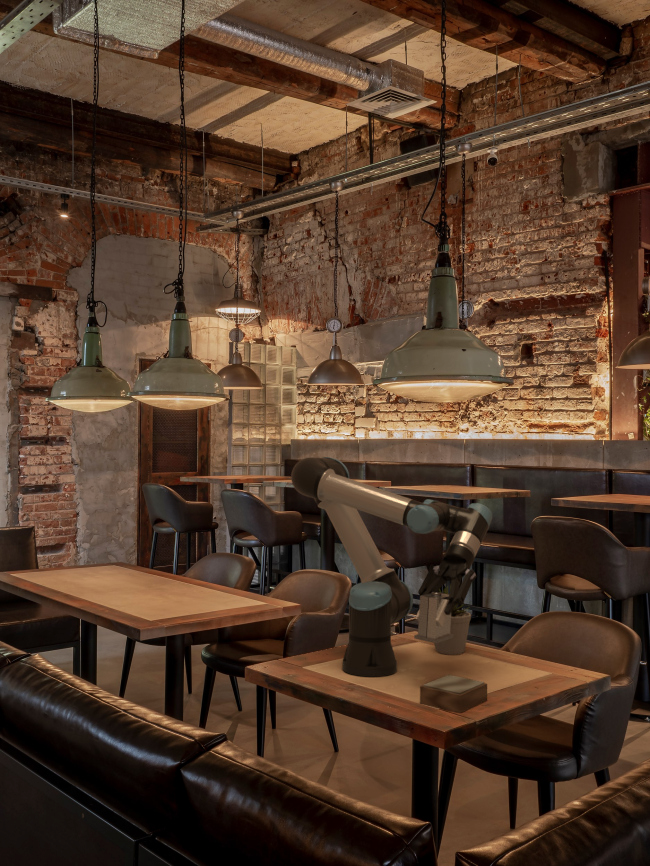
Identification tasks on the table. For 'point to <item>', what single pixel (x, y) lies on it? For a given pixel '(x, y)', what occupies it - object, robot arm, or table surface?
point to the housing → (433, 619)
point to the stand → (453, 693)
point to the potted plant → (455, 632)
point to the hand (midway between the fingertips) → (428, 621)
